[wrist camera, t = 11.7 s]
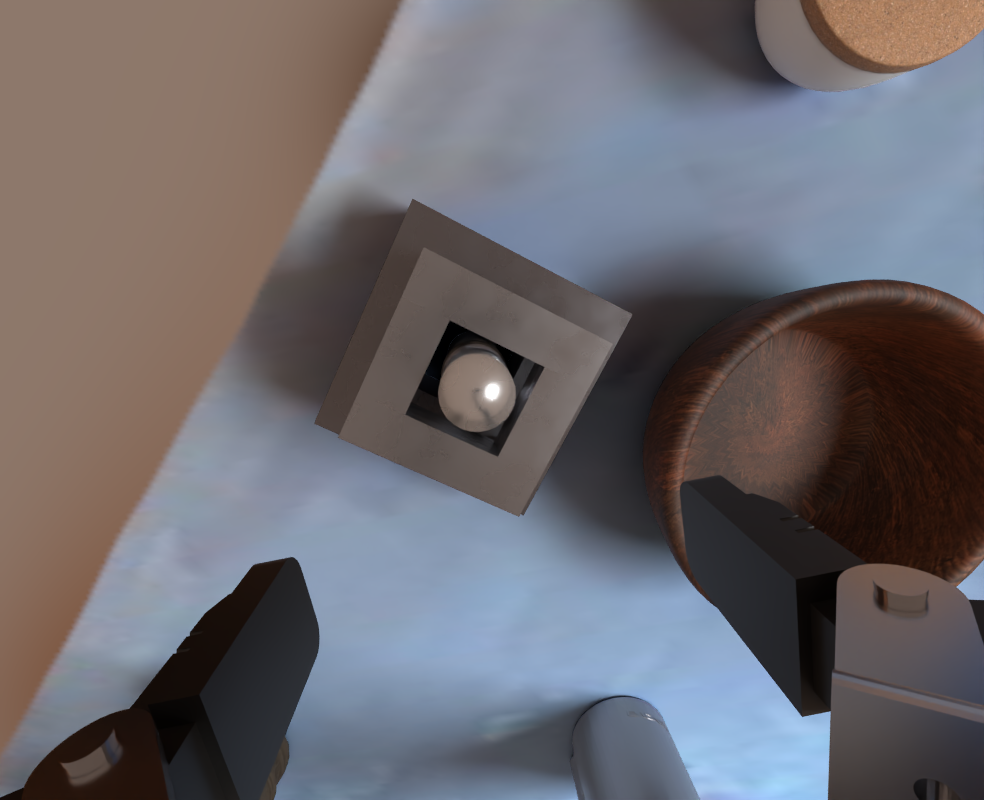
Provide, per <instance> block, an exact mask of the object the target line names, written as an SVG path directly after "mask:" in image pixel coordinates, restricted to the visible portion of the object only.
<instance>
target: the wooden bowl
mask: <svg viewBox="0 0 984 800" xmlns="http://www.w3.org/2000/svg"><path fill="white" fill-rule="evenodd" d="M643 468H644V477H645V484H646V489H647V493H648V497H649V500H650V504H651V507H652V510H653V512H654V515H655V518H656V520H657V523H658V525H659V528H660V530H661V532H662V534H663V536H664V538H665V540H666V542H667V544H668V546H669V548H670V550H671V552H672V554H673V556H674V558H675V560H676V561H677V563H678V564H679V566H680V568H681V569H682V571H683V572H684V574H685V575H686V577H687V578H688V580H689V581H690V582H691V583H692V585H693V586H694V587H695V588H696V589H697V591H698V592H699V593H700V594H702V595H703V596H704V597H705V598H706V599H707V600H708V601H709V602H710V603H711V604H713V605H714V606H715V607H716V605H715V604H714V603H713V602H712V600H711V599H710V598H709V596H708V595H707V594H706V593H705V591H704V590H703V589H702V587H701V586H700V585H699V584H698V582H697V581H696V579H695V577H694V575H693V573H692V571H691V568H690V566H689V563H688V559H687V555H686V549H685V539H684V529H683V520H682V510H681V501H680V486H681V484H682V482H685V481H690V480H695V479H700V478H706V477H711V476H716V475H721V476H722V477H724V478H725V479H727V480H728V481H729V482H731V483H732V484H733V485H735V486H736V487H737V488H739V489H740V490H741V491H743V492H744V493H745V494H751V493H754V494H757V495H760V496H763V497H766V498H768V499H771V500H774V501H777V502H779V503H781V504H782V505H784V506H785V507H787V508H788V509H789V510H791V511H792V512H794V513H795V514H797V515H798V518H802V519H804V520H805V521H807V522H808V523H810V524H811V525H813V526H814V529H815V530H817V529H818V530H820V531H821V532H823V533H824V534H826V535H827V536H828V537H830V538H831V539H833V540H834V541H836V542H837V543H838V544H840V545H841V546H843V547H844V548H846V549H847V550H849V551H850V552H851V553H853V554H854V555H856V556H857V557H859V558H860V559H862V560H863V561H864V562H866V563H867V564H892V565H899V566H905V567H909V568H914V569H918V570H921V571H924V572H927V573H930V574H932V575H934V576H937V577H939V578H941V579H943V580H945V581H947V582H949V583H950V584H952V585H953V586H955V587H956V586H958V585H959V584H960V583H961V582H962V581H963V580H964V579H965V578H966V577H967V576H969V575H970V574H971V573H972V572H973V571H974V570H975V569H976V567H977V566H978V565H979V564H980V563H981V562H982V561H983V560H984V314H982V313H981V312H980V311H979V310H977V309H976V308H974V307H972V306H971V305H969V304H968V303H966V302H965V301H963V300H961V299H959V298H957V297H955V296H952V295H950V294H948V293H945V292H943V291H940V290H937V289H934V288H931V287H928V286H924V285H920V284H915V283H911V282H905V281H896V280H860V281H850V282H841V283H834V284H829V285H823V286H818V287H813V288H808V289H803V290H799V291H794V292H790V293H786V294H783V295H779V296H776V297H773V298H770V299H767V300H764V301H761V302H759V303H756V304H754V305H751V306H749V307H747V308H744V309H743V310H741V311H739V312H737V313H735V314H733V315H731V316H729V317H728V318H726V319H724V320H723V321H721V322H720V323H718V324H717V325H715V326H713V327H712V328H711V329H709V330H708V331H707V332H706V333H704V334H703V335H702V336H700V337H699V338H698V339H697V340H696V341H695V342H694V343H693V344H692V345H691V346H690V347H689V348H688V349H687V350H686V351H685V352H684V353H683V354H682V356H681V357H680V358H679V359H678V360H677V362H676V363H675V364H674V366H673V367H672V368H671V370H670V371H669V373H668V374H667V376H666V378H665V379H664V381H663V383H662V384H661V386H660V388H659V390H658V392H657V394H656V396H655V399H654V401H653V404H652V407H651V409H650V412H649V416H648V420H647V423H646V429H645V434H644V443H643Z"/></svg>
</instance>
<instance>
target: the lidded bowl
mask: <svg viewBox="0 0 984 800" xmlns="http://www.w3.org/2000/svg"><path fill="white" fill-rule="evenodd" d="M755 25H756V31H757V36H758V40H759V43H760V46H761V49H762V51H763V53H764V54H765V56H766V58H767V60H768V61H769V63H770V64H771V65H772V67H773V68H774V69H775V70H776V71H777V72H778V73H779V74H780V75H781V76H782V77H784V78H785V79H787V80H789V81H790V82H792V83H793V84H795V85H798V86H800V87H803V88H805V89H810V90H815V91H822V92H841V91H847V90H853V89H859V88H865V87H868V86H871V85H874V84H878V83H881V82H883V81H886V80H889V79H892V78H895V77H897V76H899V75H902V74H904V73H906V72H909V71H911V70H914V69H917V68H920V67H923V66H926V65H929V64H931V63H933V62H935V61H938V60H940V59H942V58H943V57H945V56H947V55H949V54H951V53H953V52H955V51H957V50H958V49H960V48H961V47H962V46H964V45H965V44H966V43H968V42H969V41H971V40H972V39H973V38H974V37H975V36H976V35H977V34H978V33H980V32H981V31H982V30H983V29H984V0H755Z"/></svg>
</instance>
